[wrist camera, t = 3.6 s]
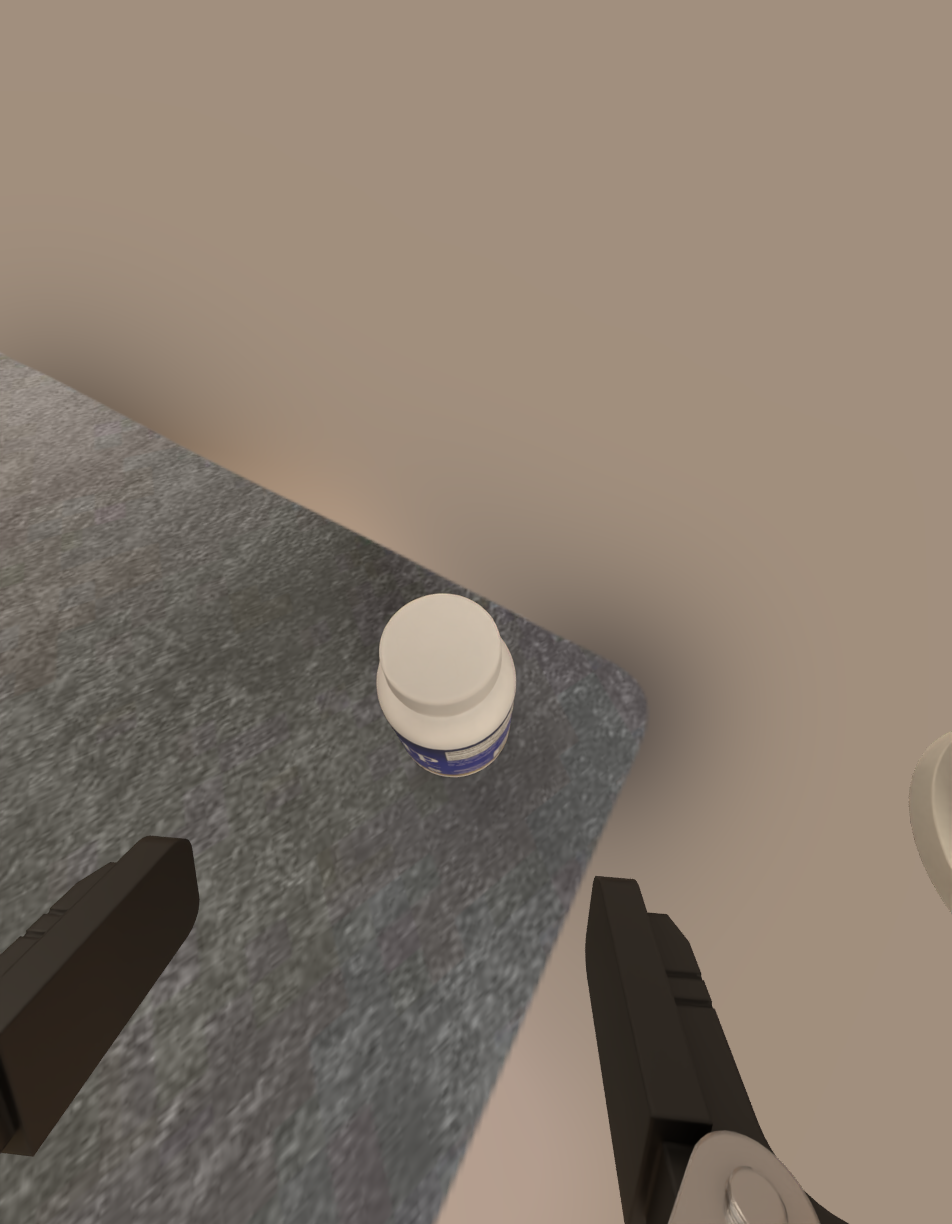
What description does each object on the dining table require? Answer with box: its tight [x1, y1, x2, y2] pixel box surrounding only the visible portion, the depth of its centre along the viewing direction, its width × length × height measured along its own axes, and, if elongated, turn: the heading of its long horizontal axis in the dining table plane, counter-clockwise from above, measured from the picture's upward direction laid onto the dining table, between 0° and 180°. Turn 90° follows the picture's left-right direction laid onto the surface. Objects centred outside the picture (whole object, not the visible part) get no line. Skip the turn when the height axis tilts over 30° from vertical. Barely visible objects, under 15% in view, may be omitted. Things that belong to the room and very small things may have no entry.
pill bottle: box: [377, 594, 516, 777], centre depth 19 cm, size 5×5×9 cm
